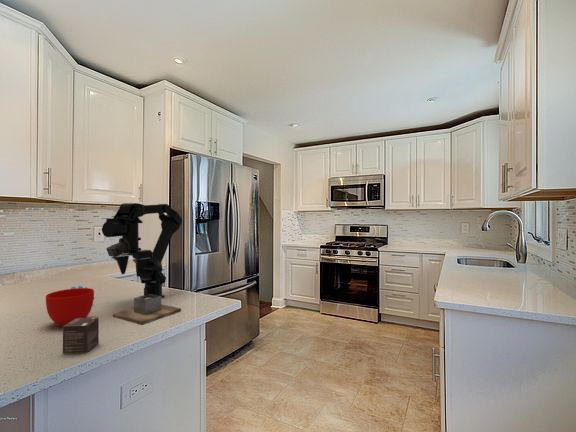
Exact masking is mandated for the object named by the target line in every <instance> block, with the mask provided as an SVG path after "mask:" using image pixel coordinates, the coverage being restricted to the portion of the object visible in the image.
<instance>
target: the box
mask: <svg viewBox="0 0 576 432" xmlns="http://www.w3.org/2000/svg"><path fill="white" fill-rule="evenodd" d="M99 327H100V325H99V317H86V318H76V319H74V320H73V321H71V322H69V323H67V324H65V325H64V326H63V327H62V354H64V355H70V354H88V353H89V351H91V350H92V349H93V348H95V347H96V345H98V344H99V341H100V340H99V338H100V337H99Z"/></svg>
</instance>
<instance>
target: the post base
mask: <svg viewBox="0 0 576 432" xmlns="http://www.w3.org/2000/svg"><path fill="white" fill-rule="evenodd" d="M144 299H150V298H144ZM181 311H182V308H181V307H176V306H173V305H168V304H164V303H161V310H159V311H156V312H153V313H150V314H147V315H144V314H140V313H136V312H134V307H132V308H128V309H125V310H120V311H117V312H114V313H112V317H114V318H115V319H120V320H124V321H126V322H130V323H135V324H137V325H142V326H143V325H145V324H148V323H150V322H153V321H156V320H160V319H162V318H163V319H164V318H165V317H169V316H172V315H174V314H176V313H180V312H181Z"/></svg>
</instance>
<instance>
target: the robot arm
mask: <svg viewBox="0 0 576 432" xmlns="http://www.w3.org/2000/svg"><path fill="white" fill-rule="evenodd" d="M151 214H158V219H159V220H160V222H161V223H160V227H161V232H160V234H159V236H158V238H157V241H156V243H155V245H154V248H153V250H151V249H142V248H141V247H139V243H140V242H139V241H142V237H140V236H139V224H143V223H144V222H143V220H142V219H140V217H143V216H144V215H151ZM182 223H183V218H182V216H181V215H180V214H179V212H178V211H176V210H174V209H173V208H172V207H171V206H170V205H169V204H168V203H158V204H147V205H146V204H141V203H136V202H135V203H134V202H128V203H127V202H125V203H124V202H123V203H121V204H120V206H119V207H118V210H117V211H116V213H115V214H114V216H113V217H111V218H110V217H109V218H106V220H105V222H104V223H103V225H102V227H101V232H102V235H103V236H104V237H105V238H116V237H120V238H119V239H118V242H117V243H114V244H112V245H110V246H108V247H106V252H107V254H108V257H111V259H113V260H115V262H116V263H117V265H118V267H119V271H120V274H121V275H125V274H126V271H127V268H128V267H127V266H128V264H129V257H130V256H131V257H132V258H133V259H131V260H132V261H133V262H134V263H135V271H136V272H135V273H136V277H139V279H140V282H141V284H144V288H143V296H144V295H148V294H153V295H158V296H161V298H163V297H165V295H164V294H163V284H165V283H166V280H167V277H166V276H165V275H164V273H163V264H162V261H163V259H164V256H165V255H166V251H167V249H168V247H169V244H170V243H171V239H172V237H173V235H174V233H176V232H177V231H178V230H180V227H181V225H182Z"/></svg>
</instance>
